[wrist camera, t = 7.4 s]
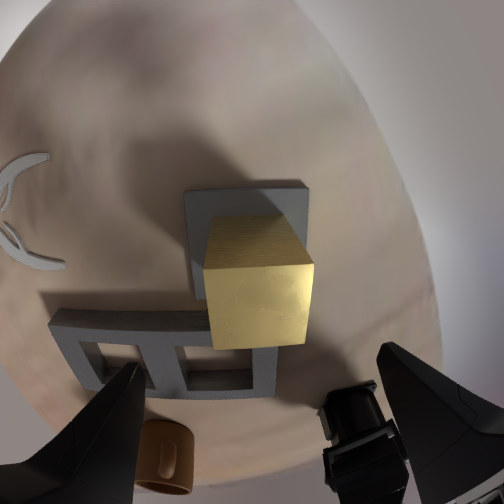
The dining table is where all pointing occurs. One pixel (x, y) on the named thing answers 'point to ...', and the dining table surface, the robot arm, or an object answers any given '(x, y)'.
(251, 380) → the grey flat frame
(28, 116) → the dining table surface
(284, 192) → the pad
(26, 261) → the pliers
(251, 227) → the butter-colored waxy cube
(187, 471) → the mug
